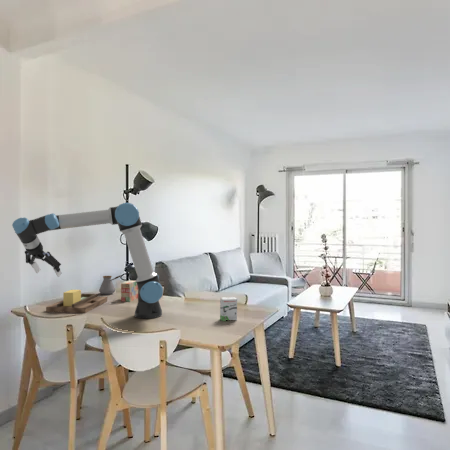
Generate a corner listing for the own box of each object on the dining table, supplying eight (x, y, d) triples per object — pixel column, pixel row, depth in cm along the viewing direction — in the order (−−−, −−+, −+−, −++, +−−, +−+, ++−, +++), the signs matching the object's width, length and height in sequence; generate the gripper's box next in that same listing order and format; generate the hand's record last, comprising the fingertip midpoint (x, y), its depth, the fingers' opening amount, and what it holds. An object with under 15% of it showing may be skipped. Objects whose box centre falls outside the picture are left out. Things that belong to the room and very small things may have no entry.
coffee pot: (95, 294, 279) (95, 273, 278) (108, 291, 288) (108, 271, 288) (115, 297, 267) (115, 276, 267) (128, 294, 277) (128, 274, 277)
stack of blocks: (134, 295, 275) (134, 278, 275) (142, 295, 274) (142, 278, 274) (120, 301, 254) (120, 283, 254) (129, 301, 253) (129, 283, 253)
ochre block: (81, 302, 236) (80, 289, 236) (73, 306, 226) (73, 292, 226) (71, 302, 237) (71, 289, 237) (63, 306, 227) (63, 292, 227)
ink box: (221, 321, 204) (221, 299, 204) (219, 319, 209) (219, 297, 209) (237, 320, 206) (237, 298, 206) (235, 318, 211) (235, 296, 211)
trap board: (107, 301, 254) (107, 294, 254) (85, 312, 222) (85, 304, 222) (72, 300, 256) (72, 293, 256) (46, 312, 225) (46, 303, 225)
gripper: (7, 246, 193) (25, 275, 207) (49, 253, 187) (64, 281, 200) (17, 236, 199) (34, 265, 212) (57, 242, 192) (72, 271, 206)
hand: (49, 273), depth 206 cm, fingers open, 13 cm apart
